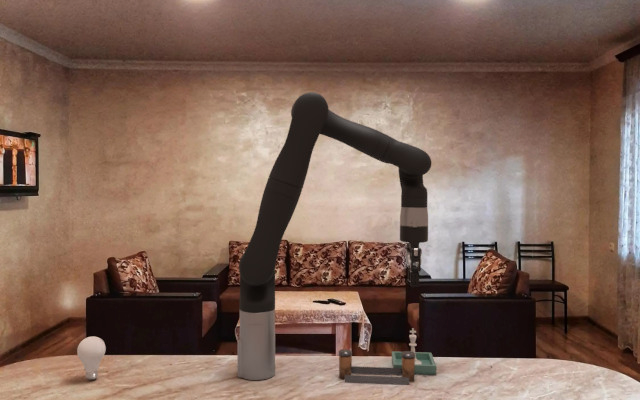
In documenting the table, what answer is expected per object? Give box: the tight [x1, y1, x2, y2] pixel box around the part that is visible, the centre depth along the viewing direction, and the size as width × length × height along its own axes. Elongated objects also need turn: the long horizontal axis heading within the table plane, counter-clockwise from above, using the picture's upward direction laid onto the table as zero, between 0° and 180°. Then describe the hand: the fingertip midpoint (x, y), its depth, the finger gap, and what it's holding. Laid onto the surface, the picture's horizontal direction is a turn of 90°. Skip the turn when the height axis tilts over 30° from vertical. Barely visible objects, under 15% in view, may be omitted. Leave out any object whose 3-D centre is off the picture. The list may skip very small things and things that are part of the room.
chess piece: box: [408, 327, 422, 365], centre depth 142 cm, size 5×5×10 cm
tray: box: [391, 351, 437, 376], centre depth 142 cm, size 11×11×2 cm
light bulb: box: [76, 335, 107, 381], centre depth 132 cm, size 7×7×11 cm
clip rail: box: [338, 348, 416, 386], centre depth 133 cm, size 19×7×7 cm, turn 85°
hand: (413, 283), depth 141 cm, fingers open, 8 cm apart
